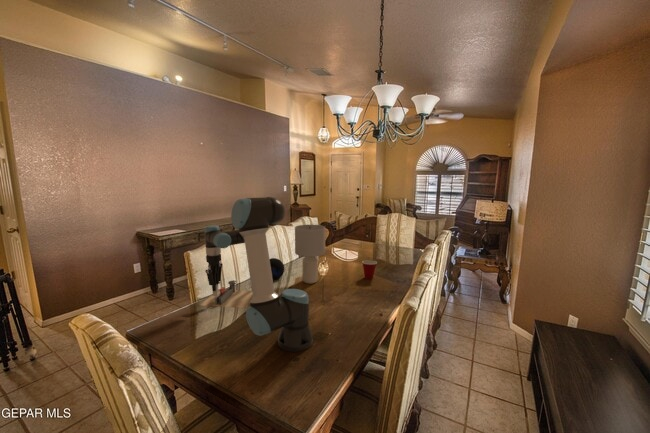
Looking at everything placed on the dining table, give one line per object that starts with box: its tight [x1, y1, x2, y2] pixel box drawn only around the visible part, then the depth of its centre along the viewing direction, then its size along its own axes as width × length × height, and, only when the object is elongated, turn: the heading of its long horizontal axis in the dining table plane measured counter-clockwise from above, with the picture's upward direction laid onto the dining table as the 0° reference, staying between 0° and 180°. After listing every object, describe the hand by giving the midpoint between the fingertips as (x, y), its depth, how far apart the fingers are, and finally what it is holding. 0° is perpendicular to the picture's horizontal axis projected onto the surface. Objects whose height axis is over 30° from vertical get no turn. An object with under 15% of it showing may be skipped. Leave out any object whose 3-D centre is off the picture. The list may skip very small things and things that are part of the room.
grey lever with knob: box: [219, 279, 237, 305], centre depth 165 cm, size 20×5×6 cm, turn 173°
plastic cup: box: [361, 260, 378, 280], centre depth 202 cm, size 11×11×12 cm
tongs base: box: [215, 284, 236, 305], centre depth 164 cm, size 19×3×5 cm, turn 170°
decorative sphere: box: [269, 257, 285, 281], centre depth 197 cm, size 15×15×15 cm
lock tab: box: [219, 286, 226, 293], centre depth 162 cm, size 3×2×2 cm, turn 170°
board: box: [199, 288, 253, 309], centre depth 165 cm, size 26×22×1 cm
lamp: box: [294, 224, 326, 285], centre depth 192 cm, size 20×20×39 cm
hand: (215, 295), depth 155 cm, fingers closed
